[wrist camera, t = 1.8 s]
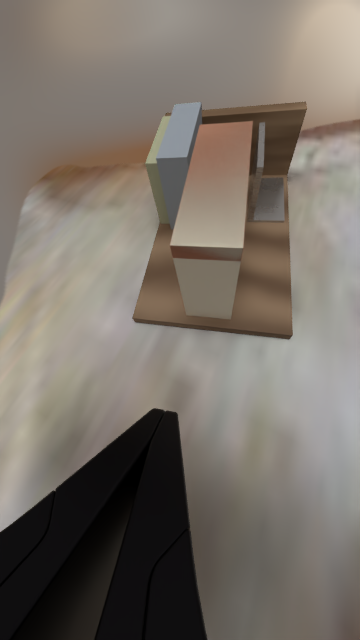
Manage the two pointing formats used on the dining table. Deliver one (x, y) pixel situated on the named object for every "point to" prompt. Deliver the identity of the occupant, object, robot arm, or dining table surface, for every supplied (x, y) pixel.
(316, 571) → the dining table surface
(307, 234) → the dining table surface
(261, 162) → the bookend
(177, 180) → the small books
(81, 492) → the robot arm
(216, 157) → the boxed book
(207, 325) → the shelf
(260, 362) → the dining table surface
